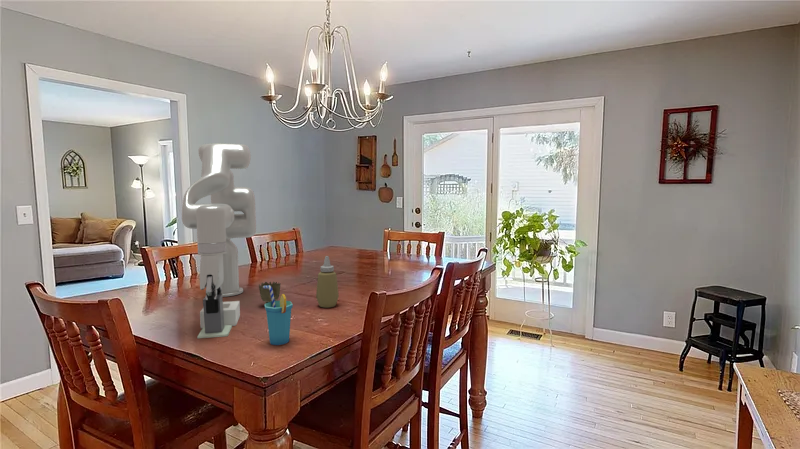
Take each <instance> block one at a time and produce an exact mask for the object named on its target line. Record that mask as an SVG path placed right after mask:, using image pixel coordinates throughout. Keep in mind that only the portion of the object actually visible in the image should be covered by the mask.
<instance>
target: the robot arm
mask: <svg viewBox="0 0 800 449" xmlns="http://www.w3.org/2000/svg"><path fill="white" fill-rule="evenodd" d="M198 156H199V160H200V161H201V175H200V176H201V177H200V178H198V179H197V180H195V181H194V182H193V183H192V184H191V185H190V186H189V187H188V188H187V190H186V191H185V193H184V195H183V200H182V205H181V206H182V207H181V221H182V225H183V226H185V228H187V229H191V230H196V237H197V238H196V240H197V241H196V243H197V255H198V256H200V259H199V261H200V262H199V289H200V290H201V291H204V290H205V296H206V313H207V314H210V313H218V312H219V309H218V299H217V295H220V294H222V298H224V297H226V298H227V297H233V296H237V295H241V294H242V293H244V287H241V286H240V283H239V282H240V279H239V277H240V276H239V251H238V246H236V244H235V242H234V241H232V240H231V239H238V238H239V239H243V238H247V239H248V238H251V237H254V236H255V235H256V231H257V212H256V198H255V193H254V191H253V189H252V188H251V187H247V186H235V180H234V173H233V171H232V170H231V169H234V170H235V169H236V170H237V169H238V170H239V169H240V170H241V169H242V170H247V168H249V166H250V164H251V156H252V155H251V150H250V147H249V146H248V145H247V144H242V143H226V142H225V143H223V142H221V143H220V142H218V143H217V142H215V143H203V144H201V145H200V146H199V147H198ZM208 196H210V203H197V202H198V201H199V200H201V199H203V198H205V197H208ZM235 212H241V213H235Z"/></svg>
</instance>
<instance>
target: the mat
mask: <svg viewBox="0 0 800 449" xmlns="http://www.w3.org/2000/svg"><path fill="white" fill-rule="evenodd" d="M232 328H233V326H232V325H225V326H224V329H223V331H222V332H217V333H207V334H205V327H203V328H201V330H200V331H199V333H198V335H197V339H206V338H218V337H219V338H220V337H229V334H230V332H231V330H232Z"/></svg>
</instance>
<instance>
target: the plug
mask: <svg viewBox="0 0 800 449" xmlns="http://www.w3.org/2000/svg"><path fill="white" fill-rule="evenodd" d="M217 299H218V309H219V312H218V313H210V314H207V313H206V295H205V297H203V299H202V305H203V307H202V309H204V322H205V334H207V333H217V332H222V331H223V329H224V313H223V302H224V301H223V297H222V294H220V295H217Z"/></svg>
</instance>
